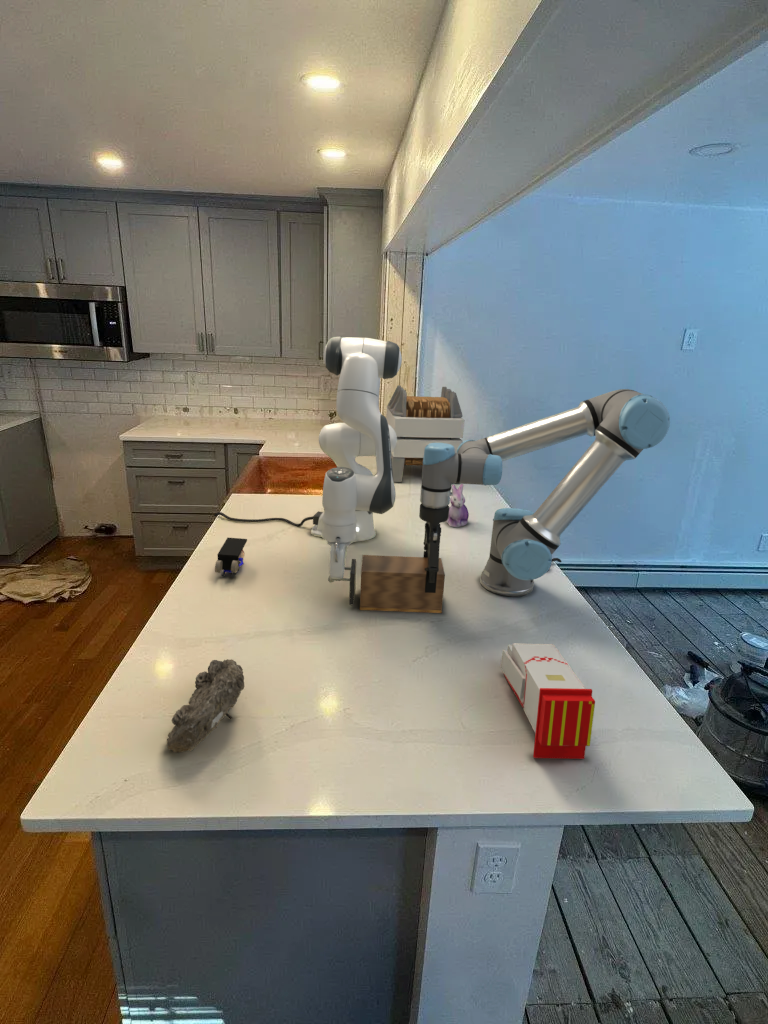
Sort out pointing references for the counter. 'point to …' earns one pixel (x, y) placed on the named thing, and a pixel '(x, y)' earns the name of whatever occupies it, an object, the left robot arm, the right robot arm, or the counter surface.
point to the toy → (550, 699)
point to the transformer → (422, 426)
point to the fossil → (206, 705)
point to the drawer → (352, 581)
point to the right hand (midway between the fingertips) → (428, 582)
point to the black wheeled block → (230, 556)
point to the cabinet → (399, 584)
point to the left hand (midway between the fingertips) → (338, 578)
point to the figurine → (457, 508)
